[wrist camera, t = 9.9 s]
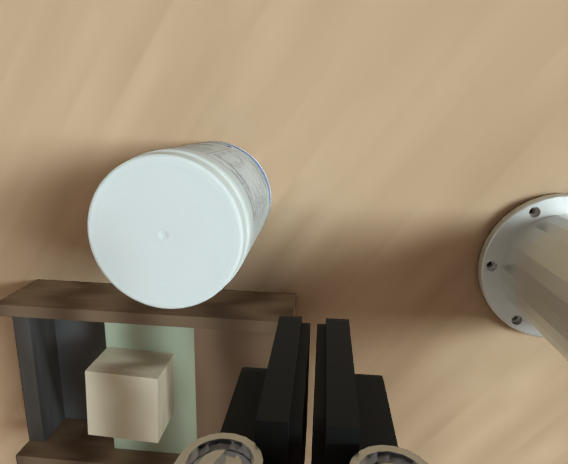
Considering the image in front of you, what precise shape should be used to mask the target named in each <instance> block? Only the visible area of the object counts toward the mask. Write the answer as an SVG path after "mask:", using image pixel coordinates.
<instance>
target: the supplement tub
mask: <svg viewBox="0 0 568 464" xmlns="http://www.w3.org/2000/svg"><path fill="white" fill-rule="evenodd" d="M270 206H271V189H270V184H269V181H268V178H267V175H266V173H265V171H264V169H263V168H262V166H261V165H260V164H259V162H258V161H257V160H256V159H255V158H254V157H253V156H252V155H251V154H249V153H248V152H247V151H245V150H243V149H242V148H240V147H238V146H236V145H233V144H230V143H225V142H217V141H212V142H203V143H196V144H190V145H184V146H177V147H171V148H165V149H160V150H155V151H150V152H146V153H143V154H141V155H138V156H136V157H134V158H132V159H130V160H128V161H126V162H124V163H122V164H120V165H119V166H117V167H116V168H114V169H113V170H112V171H111V172H110V173H109V174H108V175H107V176H106V177H105V178H104V179H103V180H102V182H101V183H100V184H99V186H98V188H97V189H96V191H95V193H94V195H93V198H92V200H91V203H90V207H89V211H88V219H87V231H88V239H89V243H90V247H91V250H92V253H93V256H94V258H95V260H96V262H97V264H98V266H99V267H100V269H101V271H102V272H103V273H104V275H105V276H106V277H107V279H108V280H109V281H110V282H111V283H112V284H113V285H114V286H115V287H116V288H117V289H119V290H120V291H121V292H123V293H124V294H126V295H127V296H129V297H130V298H132V299H134V300H136V301H138V302H141V303H143V304H146V305H149V306H153V307H157V308H166V309H178V308H185V307H190V306H194V305H197V304H200V303H202V302H204V301H206V300H208V299H209V298H211V297H213V296H214V295H215V294H217V293H218V292H219V291H221V290H222V289H223V287H224V286H225V285H227V284H228V283H229V282H230V281H231V280H232V278H233V277H234V276H235V275H236V273H237V272H238V270H239V269H240V267H241V265H242V264H243V262H244V260H245V258H246V256H247V255H248V253H249V251H250V249H251V247H252V245H253V244H254V242H255V240H256V238H257V236H258V235H259V233H260V231H261V229H262V227H263V226H264V224H265V222H266V219H267V217H268V215H269V211H270Z"/></svg>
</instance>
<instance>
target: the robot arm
mask: <svg viewBox="0 0 568 464" xmlns="http://www.w3.org/2000/svg"><path fill="white" fill-rule="evenodd" d="M532 208H533V211H532V212H531V213H529V211H530V209H532ZM489 262H491V264H490V265H488V266H487V263H489ZM478 279H479V284H480V288H481V292H482V294H483V296H484V298H485V300H486V302H487V304H488V305H489V306H490V308H491V309H492V310H493V311H494V313H495V314H496V315H497V316H498V317H499V318H500V319H501V320H502V321H503V322H505V323H506V324H507V325H509V326H510V327H512V328H513V329H516V330H518V331H520V332H523V333H525V334H528V335H532V336H537V337H545V338H546V339H547V340H548V341H549V342H550V343H551V344H552V345H553V346H554V347H555V348H556V350H557V351H558V352H559V353H560V354H561V355H562V356H563V357H564V358H565V359H566V360H567V361H568V193H558V194H551V195H544V196H541V197H538V198H535V199H532V200H529V201H527V202H525V203H524V204H522V205H520V206H518V207H516V208H515V209H513V210H512V211H511V212H509V213H508V214H507V215H505V216H504V217H503V218H502V219H501V220H500V221H499V222H498V223H497V225H496V226H495V227H494V228H493V229H492V231H491V233H490V234H489V236H488V237H487V239H486V241H485V243H484V246H483V248H482V251H481V253H480V259H479V264H478ZM514 316H515V317H514ZM513 317H514V318H513ZM309 345H310V323H302V317H293V316H280V317H279V320H278V325H277V329H276V333H275V338H274V342H273V346H272V350H271V355H270V359H269V363H268V367H267V368H256V367H242V369H241V372H240V375H239V378H238V381H237V384H236V387H235V390H234V393H233V396H232V399H231V402H230V405H229V408H228V411H227V414H226V417H225V420H224V423H223V425H222V428H221V431H220V433H216V434H210V435H207V436H204V437H201V438H199V439H197V440H195V441H194V442H192V443H191V444H189V445H188V446H187V447H186V448H185V449H184V450H183V451H182V452H181V454H180V455H179V457H178V458H177V460H176V461H175V463H174V464H304V462H305V446H306V429H307V402H308V374H309ZM311 464H428V463H427V462H425V461H424V460H423V459H422V458H421V457H420V456H418V455H416V454H414V453H412V452H410V451H408V450H406V449H403V448H399V447H398V445H397V440H396V436H395V431H394V426H393V422H392V417H391V413H390V408H389V403H388V399H387V394H386V390H385V385H384V380H383V377H382V376H379V375H364V374H355V373H354V364H353V354H352V345H351V336H350V327H349V320H347V319H329V318H326V324H317V342H316V365H315V388H314V411H313V436H312V461H311Z"/></svg>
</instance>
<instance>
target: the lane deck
mask: <svg viewBox="0 0 568 464" xmlns="http://www.w3.org/2000/svg"><path fill="white" fill-rule="evenodd" d="M295 308H296V294H285V293H267V292H250V291H232V290H221V291H219V292H218V293H217V294H215V295H214V296H213V297H211V298H209V299H208V300H206V301H204V302H202V303H200V304H197V305H194V306H190V307H185V308H178V309H166V308H157V307H153V306H149V305H146V304H143V303H141V302H138V301H136V300H134V299H132V298H130V297H129V296H127V295H126V294H124V293H123V292H121V291H120V290H119V289H117V288H116V287H115V286H114V285H113V284H109V283H91V282H74V281H56V280H39V279H37V280H36V281H34V282H32V283H30V284H29V285H27V286H25V287H23V288H22V289H20V290H18V291H16V292H14V293H13V294H11V295H9V296H7V297H6V298H4V299H2V300H0V316H12V317H13V324H14V331H15V338H16V346H17V353H18V360H19V368H20V375H21V382H22V390H23V397H24V404H25V412H26V419H27V426H28V434H29V442H28V443H27V444H26V445H25V446H24V447H23V448H22V449H21V450H20V452H19V453H18V454H17V455H16V461H17V464H174V463H175V461H176V460H177V458H178V457H179V455H180V454H181V452H182V451H183V450H184V449H185V448H186V447H187V446H188V445H189V444H191V443H192V442H194V441H195V440H197V439H199V438H201V437H204V436H207V435H210V434H216V433H220V431H221V428H222V425H223V423H224V420H225V417H226V414H227V411H228V408H229V405H230V402H231V399H232V396H233V393H234V390H235V387H236V384H237V381H238V378H239V375H240V372H241V369H242V367H256V368H267V367H268V363H269V359H270V355H271V350H272V346H273V342H274V338H275V333H276V329H277V325H278V320H279V317H280V316H293V317H295ZM108 346H109V347H118V348H127V349H136V350H146V351H155V352H164V353H173V354H174V413H173V415H172V417H171V419H170V421H169V423H168V425H167V427H166V429H165V431H164V432H163V434H162V436H161V438H160V440H159V442H158V443H153V442H145V441H137V440H128V439H120V438H112V437H104V436H96V435H88V422H87V402H86V382H85V370H86V369H87V368H88V367H89V366H90V365H91V364H92V363H93V362H94V361H95V360H96V359H97V358H98V357H99V356H100V354H101V353H102V352H103V351H104V350H105V349H106V348H107V347H108Z"/></svg>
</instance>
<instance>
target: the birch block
mask: <svg viewBox="0 0 568 464" xmlns="http://www.w3.org/2000/svg"><path fill="white" fill-rule="evenodd" d="M85 382H86V402H87V422H88V435H96V436H104V437H112V438H120V439H128V440H137V441H145V442H153V443H158V442H159V440H160V438H161V436H162V434H163V432H164V431H165V429H166V427H167V425H168V423H169V421H170V419H171V417H172V415H173V413H174V354H173V353H164V352H155V351H146V350H136V349H127V348H118V347H109V346H108V347H107V348H106V349H105V350H104V351H103V352H102V353H101V354H100V356H99V357H98V358H97V359H96V360H95V361H94V362H93V363H92V364H91V365H90V366H89V367H88V368H87V369H86V370H85Z"/></svg>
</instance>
